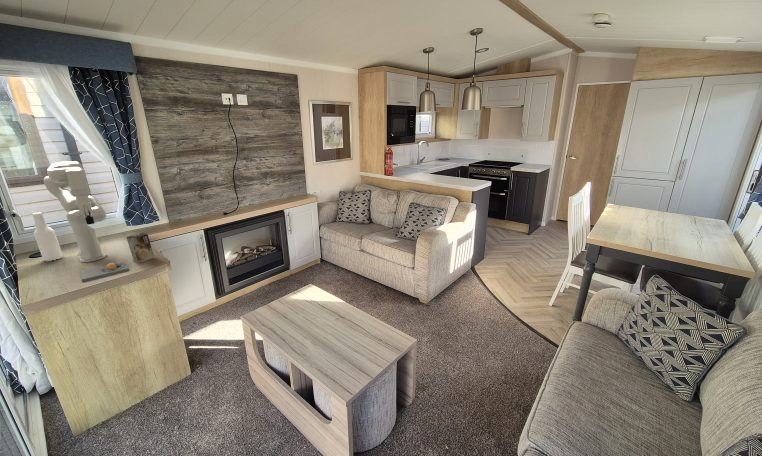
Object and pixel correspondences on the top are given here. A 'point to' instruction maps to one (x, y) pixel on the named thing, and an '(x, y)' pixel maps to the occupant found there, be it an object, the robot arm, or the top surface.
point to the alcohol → (46, 239)
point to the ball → (111, 266)
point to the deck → (103, 271)
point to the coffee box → (140, 247)
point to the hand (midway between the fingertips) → (90, 223)
